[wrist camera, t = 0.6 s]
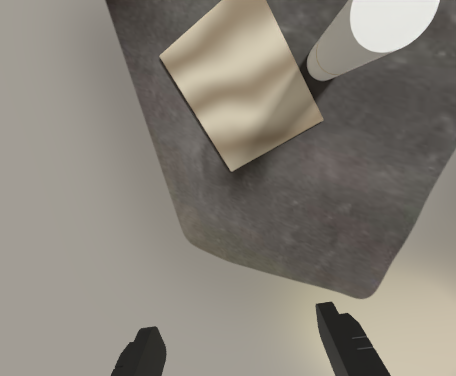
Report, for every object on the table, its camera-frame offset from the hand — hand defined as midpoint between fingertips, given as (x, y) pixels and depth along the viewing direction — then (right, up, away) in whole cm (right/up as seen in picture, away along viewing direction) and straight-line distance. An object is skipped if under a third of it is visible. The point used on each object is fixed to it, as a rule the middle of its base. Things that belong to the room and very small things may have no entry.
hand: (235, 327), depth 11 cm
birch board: (+1, +20, +17) cm, 26 cm away
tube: (+11, +22, +15) cm, 29 cm away
